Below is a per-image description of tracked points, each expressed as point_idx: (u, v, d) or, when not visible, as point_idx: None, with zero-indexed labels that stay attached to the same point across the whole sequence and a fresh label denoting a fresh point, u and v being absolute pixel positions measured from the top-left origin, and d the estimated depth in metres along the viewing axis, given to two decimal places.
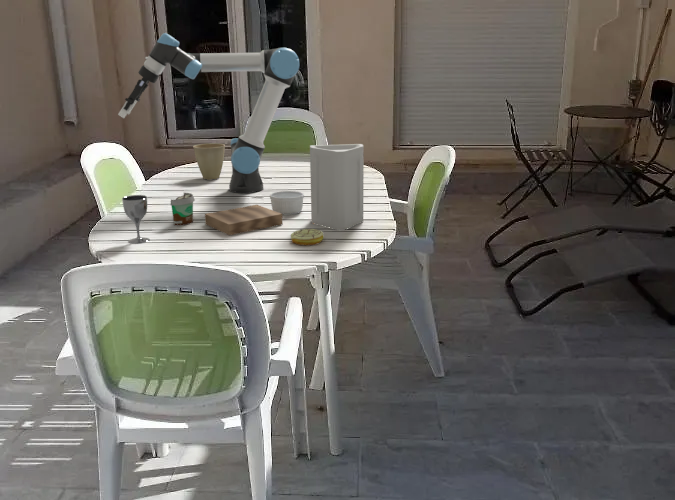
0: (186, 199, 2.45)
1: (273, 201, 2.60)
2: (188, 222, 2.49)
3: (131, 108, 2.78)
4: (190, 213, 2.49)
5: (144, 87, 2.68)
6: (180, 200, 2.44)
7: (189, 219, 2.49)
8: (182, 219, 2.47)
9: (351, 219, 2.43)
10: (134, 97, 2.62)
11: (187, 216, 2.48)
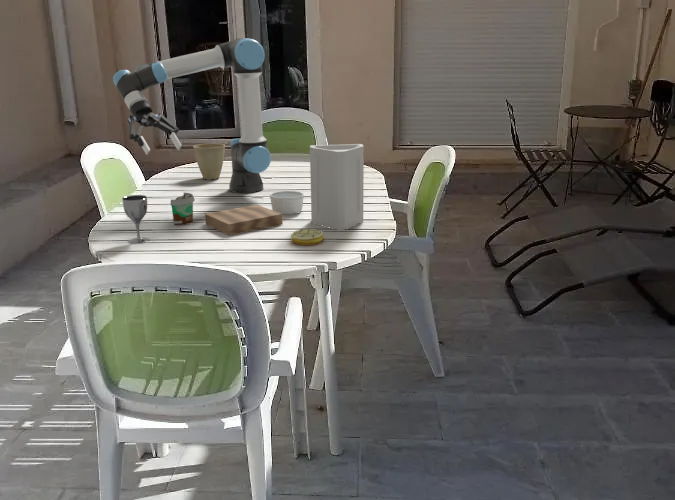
0: (186, 199, 2.45)
1: (273, 201, 2.60)
2: (188, 222, 2.49)
3: (176, 140, 2.55)
4: (190, 213, 2.49)
5: (142, 118, 2.51)
6: (180, 200, 2.44)
7: (189, 219, 2.49)
8: (182, 219, 2.47)
9: (351, 219, 2.43)
10: (130, 131, 2.46)
11: (187, 216, 2.48)
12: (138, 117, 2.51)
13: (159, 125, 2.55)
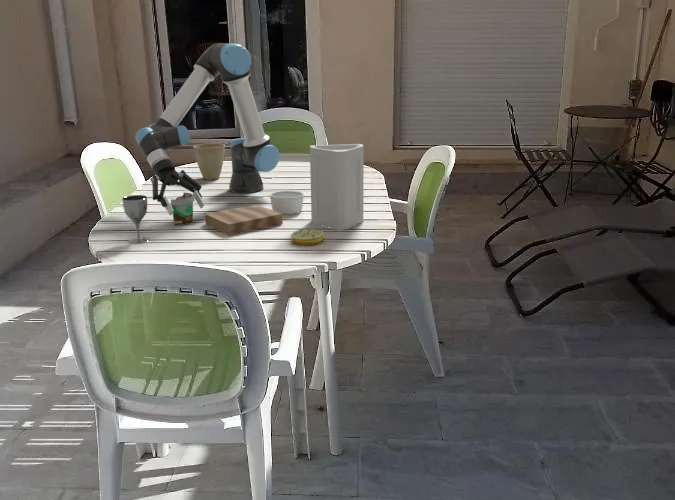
0: (186, 199, 2.45)
1: (273, 201, 2.60)
2: (188, 222, 2.49)
3: (199, 198, 2.53)
4: (190, 213, 2.49)
5: (165, 177, 2.49)
6: (180, 200, 2.44)
7: (189, 219, 2.49)
8: (182, 219, 2.47)
9: (351, 219, 2.43)
10: (154, 191, 2.44)
11: (187, 216, 2.48)
12: (161, 176, 2.49)
13: (181, 183, 2.53)
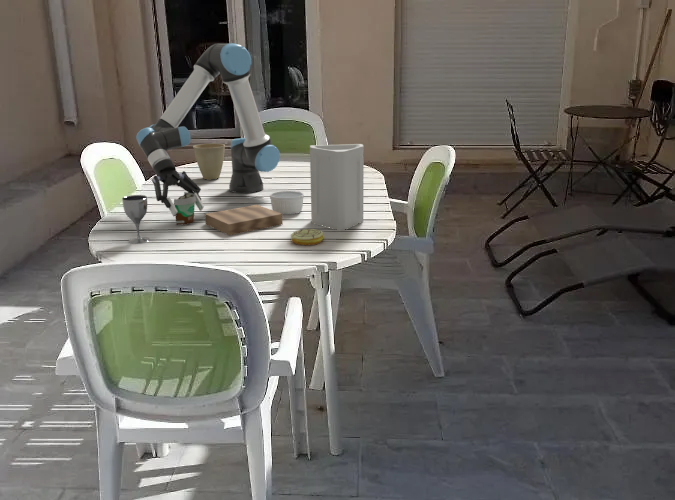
0: (189, 199, 2.45)
1: (273, 201, 2.60)
2: (190, 222, 2.49)
3: (198, 201, 2.51)
4: (192, 213, 2.49)
5: (166, 178, 2.48)
6: (183, 200, 2.44)
7: (191, 219, 2.49)
8: (184, 219, 2.47)
9: (351, 219, 2.43)
10: (157, 192, 2.43)
11: (189, 216, 2.48)
12: (162, 176, 2.48)
13: (181, 184, 2.52)
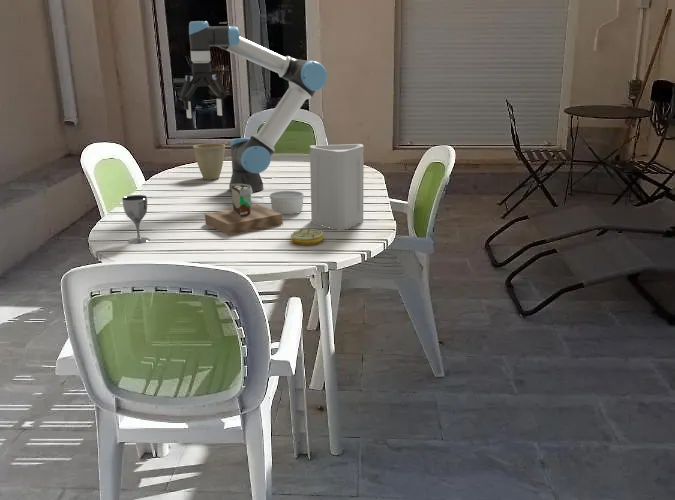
0: (250, 188, 2.43)
1: (273, 201, 2.60)
2: None
3: (219, 108, 2.76)
4: (250, 202, 2.46)
5: (198, 81, 2.67)
6: (247, 190, 2.41)
7: (250, 209, 2.46)
8: (247, 209, 2.44)
9: (351, 219, 2.43)
10: (182, 93, 2.65)
11: (250, 206, 2.45)
12: (195, 78, 2.66)
13: (211, 87, 2.72)
